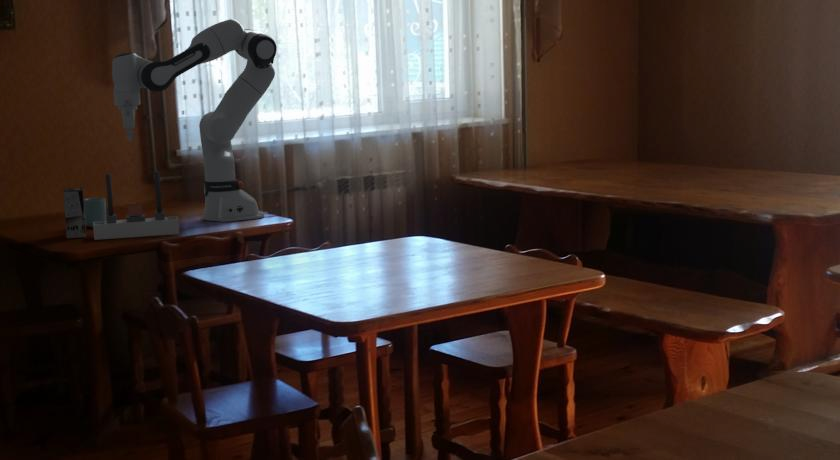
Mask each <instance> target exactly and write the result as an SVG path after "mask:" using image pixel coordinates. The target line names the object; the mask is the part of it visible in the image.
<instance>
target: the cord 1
mask: <svg viewBox="0 0 840 460" xmlns="http://www.w3.org/2000/svg"><path fill="white" fill-rule="evenodd" d="M105 185H106V197H107V210H108V214H106V221H107V224H108V223H116V220H117V214H116V213H114V203H113V200H114V199H113V190H112V189H113V188H112V175H111V174H110V173H107V174H105Z"/></svg>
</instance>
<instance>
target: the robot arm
mask: <svg viewBox="0 0 840 460" xmlns="http://www.w3.org/2000/svg"><path fill="white" fill-rule="evenodd" d="M277 48H278V47H277V44H276V41H275V40H274V39H273V38H272V36H271V35H269V34H267V33H264V32H262V31H259V30H253V29H249V28H248V29H246V28H244V26H243V25H242V24H241V23H240V22H239V21H238V20H237V19H234V18H233V19H232V18H230V19H226V20H223V21H220V22H218V23H215V24H212V25H209V27H206V28H204V29H203V30H201V31H200V32H198V33H197V34H195V36H194V37H192V39H191V42H190V45H189V46H188V47H187V48H186V49H184V51H181V52H180V53H178V54H176V55H174V56H173V57H171V58H169V59H168V60H163V61H152V60H149V59H146V58H143V57H141V56H139V55H138V54H136V53H135V52H131V51H130V52H125V53H119V54H117V55H115V56H113V57H114V58H113V60H112V64H111V65H112V67H111V68H112V70H111V71H112V72H111V74H112V75H111V76H112V81H113V85H114V86H113V103H114V104H113V105H114V106H116V107H117V106H118V111H120V112H121V117H122V125H123V129H124V130H125V132H126V138H127V139H126V140H127V142H132V141H133V139H134V138H133V133H134V132H133V129H135V127H136V126H135V120H136V119H135V118H136V117H135V116H136V110H138V106H141V104H142V102H141V89H142V88H145V89H147V90H149V91H151V92H155V93H160V92H163V91H165V90H167V89H168V88H170V86H171V84H172V83H173V82H174V80H175V79H176V78H177V77H179V76H180V75H183V74H184V73H186V72H187V71H189V70H192V69H193V68H195V67H197V66H199V65H202V64H205V63H209V62H212V61H215V60H217V59H220V58H221V57H223V56H225V55H226V54H228V53H230V52H233V51H235V52H236V54H237V55H238V56H239V57H241V58H243V59H245V60H246V65H245V66H244V69H243V71H241V73H239V75H238V77H237V78H236V79H235V80H234V82H233V83H232V84H231V85H230V87H228V89H227V91H226V92H225V93H224V95H223V97H222V98H221V100H220V102H219V103H218V105H217V107H216V108H215V109H214V111H210V112H207V113H206V114H204V115H203V116H202V117H201V119H200V121H199V125H198V126H199V135H200V144H201V151H202V156H203V169H204V170H203V171H204V180H203V193H204V197H205V200H204V211H203V216H202V219H203V220H204V221H205V220H206V221H211V222H212V221H213V222H221V223H222V222H223V223H225V222H226V223H228V222H234V221H235V222H237V221H245V220H256V219H263V218H264V217H265V213H264V211H262V210H259V207H258V203H257V201H256V199H255V198H254V196H252V195H250V194H249V193H247V192H246V191H245V190H243V189H242V188H243V187H244V183H243V181H240V180H238V179H236V167H235V155H234V152H233V151H234V150H233V146H232V140H233V139H234V138H235V136H236V134H237V133H238V131H239V130H240V129H241V126H242V125H243V123H244V122H245V120H246V118H248V115H249V114H250V112H252V110H253V108H254V107H255V106H256V105H257V104H258V102H259V101H260V100H261V98H262V97H263V96H264V95H265V93H266V92H267V90H268V89H269V87H270V85H271V84H272V82H273V80H274V78H275V75H276V72H275V69H274V67H273V64H274V61H275V60H274V59H275V56H276V55H277Z"/></svg>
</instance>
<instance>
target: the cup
mask: <svg viewBox="0 0 840 460" xmlns="http://www.w3.org/2000/svg"><path fill="white" fill-rule="evenodd" d="M106 201H107V200H106V198H105V197H88V198H84V209H85V223H86V226H87V227H89V228H93V223H94V222H98V221H107V203H106Z"/></svg>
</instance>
